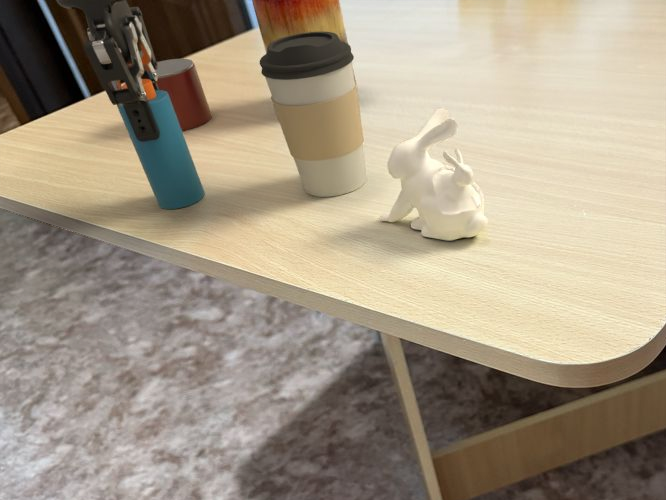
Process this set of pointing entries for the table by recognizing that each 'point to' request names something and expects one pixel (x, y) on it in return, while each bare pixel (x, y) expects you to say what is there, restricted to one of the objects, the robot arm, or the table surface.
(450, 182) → the rabbit figurine
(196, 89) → the tin
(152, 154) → the teal blue cylinder
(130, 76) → the robot arm
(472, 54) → the table surface
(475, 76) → the table surface
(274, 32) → the vase
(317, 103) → the coffee cup
